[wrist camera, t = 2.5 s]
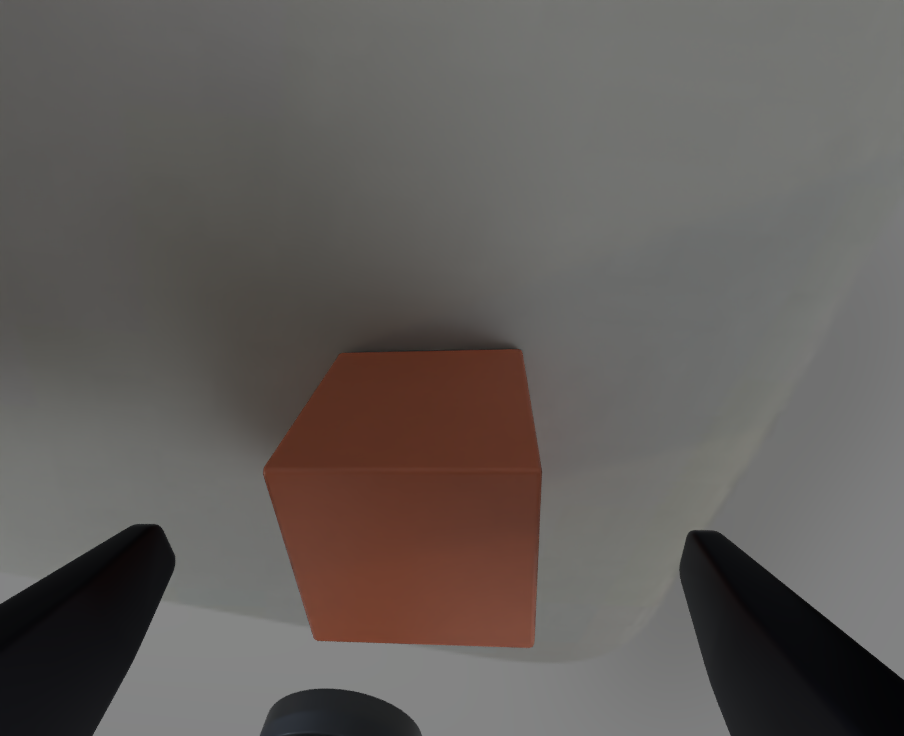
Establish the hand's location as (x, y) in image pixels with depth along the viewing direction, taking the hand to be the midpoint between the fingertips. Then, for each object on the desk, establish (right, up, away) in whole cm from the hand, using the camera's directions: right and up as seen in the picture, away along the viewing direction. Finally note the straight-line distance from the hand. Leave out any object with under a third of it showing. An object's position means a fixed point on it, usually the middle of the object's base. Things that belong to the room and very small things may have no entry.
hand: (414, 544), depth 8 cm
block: (0, +2, +3) cm, 3 cm away
